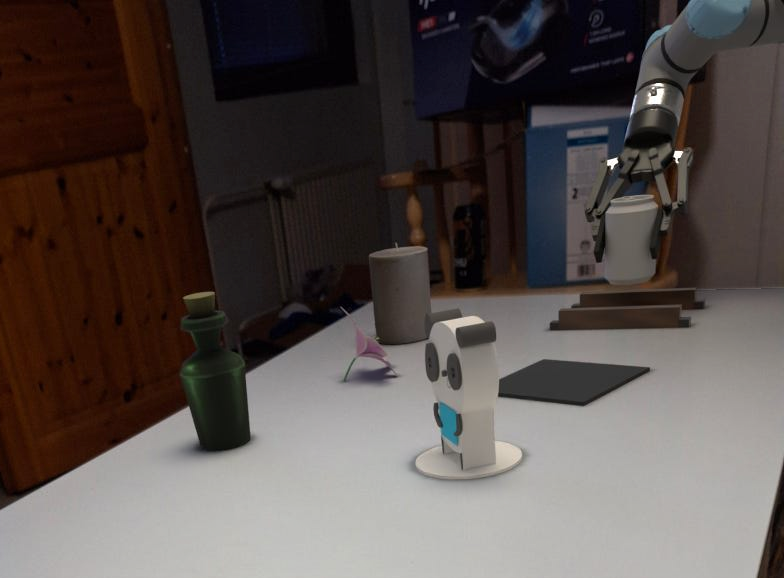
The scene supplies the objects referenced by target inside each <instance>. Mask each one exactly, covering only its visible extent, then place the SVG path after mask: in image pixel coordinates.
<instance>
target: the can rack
mask: <svg viewBox="0 0 784 578" xmlns="http://www.w3.org/2000/svg"><path fill="white" fill-rule="evenodd" d="M697 293H698V287H678V288H677V287H676V288H674V287H673V288H653V289H630V290H629V289H628V290H627V289H626V290H604V291H582V292H581V293H580V294H579V303H573V304H572V305H571V306H570V307H562V308H560V309H559V310H558V319H556V320H554V319H553V320H551V321H550V322H549V331H577V330H578V331H580V330H586V331H587V330H625V329H627V330H628V329H633V330H634V329H670V328H672V329H673V328H675V329H676V328H681V329H682V328H690V327H691V325H692V316H682V313H683V312H682V311H684V310H704V309H705V307H706V301H707V300H706V298H701V299H700V298H699V299H697Z"/></svg>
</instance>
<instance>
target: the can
mask: <svg viewBox="0 0 784 578" xmlns="http://www.w3.org/2000/svg"><path fill="white" fill-rule="evenodd" d="M654 198H655V195H653V194H637V195H627V196H623V197H621V198H617V199H613V200H611V201H610V203H611V206H610V207H609V209H608V210H607V211H606V216H605V249H604V277H603V278H604V279H605V280H606V281H608V282H609V284H610V285H614V286H629V285H637V284H642V283H646V282H648V281H650V280H651V278H653V276H654V275H655V274H656V268H657V266H656V265H657V259H652V257H651V253H650V244H651V239H652V234H653V229H654V225H655V220H656V215H657V211H658V209H659V205H658V204H657V203H656V201H654Z"/></svg>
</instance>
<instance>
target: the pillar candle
mask: <svg viewBox="0 0 784 578" xmlns="http://www.w3.org/2000/svg"><path fill="white" fill-rule="evenodd" d="M394 245H395V247H394V248H386V249H382V250H379V251H375V252H372V253H370V254H369V255H368V261H369V263H368V265H369V275H370V276H369V278H370V284H371V285H370V286H371V287H370V288H371V296H372V306H373V307H372V308H373V317H374V328H375V339H376V338H377V337H379V338H380V339H378V338H377V340H376V341H379V342H378V343H379V344H383V345H402V344H410V343H415V342H419V341H423V340H426V339H429V338H428V337H427V336H426V332H425V316H426V314H429V313H432V301H431V285H430V270H429V253H428V250H429V248H428V247H425V246H420V245H417V246H403V247H402V246H401V247H398V243H397V242H395V243H394Z"/></svg>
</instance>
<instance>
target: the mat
mask: <svg viewBox="0 0 784 578" xmlns="http://www.w3.org/2000/svg"><path fill="white" fill-rule="evenodd" d="M649 372H651V367H650V366H640V365H639V366H638V365H626V364H625V365H624V364H613V363H612V364H611V363H599V362H586V361H576V360H575V361H573V360H559V359H550V358H549V359H545V358H543V359H541V360H538V361H536V362H534V363H532V364H530V365H528V366H526V367H523V368H521V369H519V370H517V371H514V372H511V373H510V374H507V375H506V376H503V377H501V378H499V391H498V397H500V398H501V397H502V398H508V399H518V400H526V401H535V402H544V403H545V402H546V403H552V404H553V403H555V404H563V405H572V406H580V407H584V406H587V405H589V404H590V403H592V402H594V401H596V400H597V399H600V398H602V397H603V396H605V395H607V394H609V393H611V392H613V391H614V390H617V389H619V388H621V387H622V386H624V385H626V384H628V383H630V382H632V381H634V380H636V379H638V378H640V377H641V376H643V375H645V374H647V373H649Z"/></svg>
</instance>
